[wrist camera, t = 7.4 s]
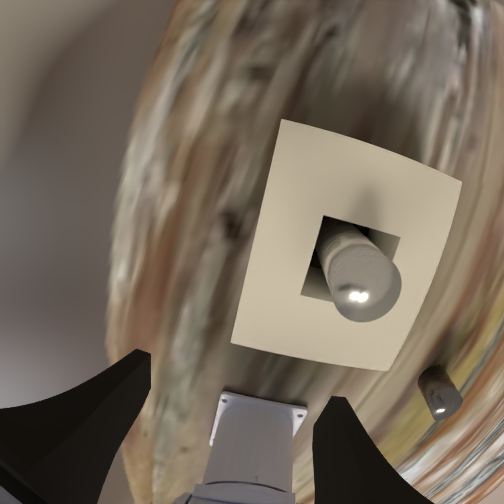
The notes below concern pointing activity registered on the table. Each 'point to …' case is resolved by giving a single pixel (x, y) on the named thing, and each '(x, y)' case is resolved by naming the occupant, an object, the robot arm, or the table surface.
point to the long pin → (356, 272)
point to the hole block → (305, 235)
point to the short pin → (439, 392)
